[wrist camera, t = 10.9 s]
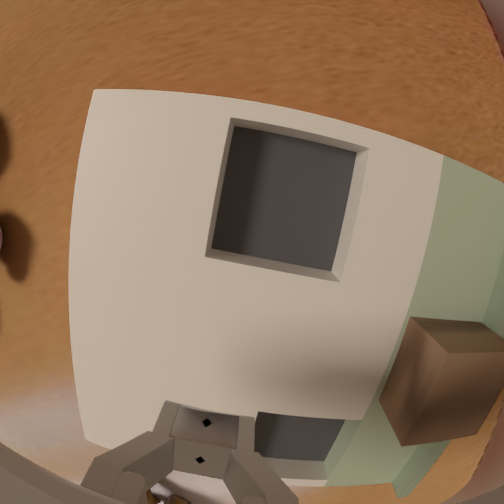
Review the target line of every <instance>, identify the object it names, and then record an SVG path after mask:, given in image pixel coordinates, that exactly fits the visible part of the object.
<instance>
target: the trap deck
mask: <svg viewBox="0 0 504 504" xmlns="http://www.w3.org/2000/svg"><path fill="white" fill-rule="evenodd" d="M409 317H421V318H433V319H446V320H459V321H474V322H480V323H482V324H483V325H485V326H486V327H487V328H489V329H490V330H492V331H493V332H494V333H496V334H497V335H499V336H500V337H501V338H503V339H504V183H502V182H501V181H499V180H497V179H495V178H493V177H491V176H489V175H487V174H484V173H482V172H480V171H478V170H476V169H474V168H472V167H469V166H467V165H465V164H463V163H461V162H458V161H456V160H454V159H451V158H449V157H446V156H444V155H442V154H439V153H437V152H434V151H432V150H429V149H427V148H424V147H421V146H419V145H416V144H413V143H410V142H408V141H405V140H402V139H399V138H396V137H393V136H390V135H387V134H384V133H381V132H378V131H375V130H372V129H368V128H365V127H362V126H358V125H355V124H351V123H348V122H344V121H341V120H337V119H333V118H329V117H325V116H321V115H317V114H313V113H309V112H304V111H300V110H295V109H291V108H286V107H281V106H276V105H270V104H265V103H259V102H254V101H247V100H241V99H234V98H227V97H220V96H212V95H203V94H194V93H183V92H171V91H155V90H131V89H94V92H93V96H92V99H91V103H90V107H89V112H88V116H87V120H86V125H85V130H84V134H83V139H82V145H81V150H80V156H79V162H78V168H77V175H76V182H75V190H74V198H73V207H72V218H71V231H70V248H69V320H70V337H71V350H72V360H73V369H74V377H75V385H76V392H77V398H78V404H79V410H80V416H81V421H82V426H83V431H84V436H85V440H88V441H90V442H93V443H95V444H98V445H100V446H103V447H106V448H108V449H111V450H112V449H114V448H116V447H118V446H120V445H122V444H124V443H126V442H128V441H130V440H132V439H133V438H135V437H137V436H139V435H141V434H143V433H145V432H147V431H151V432H152V431H153V429H154V426H155V423H156V421H157V418H158V416H159V413H160V411H161V408H162V406H163V403H164V402H165V401H166V400H168V401H172V402H175V403H179V404H185V405H189V406H193V407H197V408H202V409H206V410H212V411H217V412H223V413H229V414H235V415H243V416H251V417H254V418H255V439H254V452H259V453H260V455H261V456H262V457H263V458H264V459H265V461H266V462H267V463H268V464H269V465H270V467H271V468H272V469H273V470H274V471H275V473H276V474H277V475H278V476H279V477H280V478H281V480H282V481H283V482H284V483H285V484H286V485H290V486H355V485H370V484H381V483H390V482H392V484H393V487H394V489H395V492H396V495H397V497H398V498H401V497H407V496H408V495H409V494H410V493H411V492H412V490H413V489H414V488H415V487H416V486H417V485H418V483H419V482H420V481H421V480H422V478H423V477H424V476H425V475H426V474H427V472H428V471H429V470H430V468H431V467H432V466H433V464H434V463H435V462H436V461H437V459H438V458H439V456H440V455H441V454H442V452H443V451H444V450H445V448H446V447H447V445H448V444H449V442H450V441H451V439H450V440H445V441H439V442H433V443H426V444H419V445H412V446H403V447H401V445H400V443H399V441H398V439H397V437H396V434H395V432H394V430H393V428H392V426H391V424H390V422H389V420H388V418H387V416H386V414H385V412H384V410H383V408H382V406H381V404H380V402H379V398H380V396H381V393H382V391H383V389H384V386H385V384H386V381H387V379H388V376H389V374H390V371H391V369H392V366H393V364H394V361H395V358H396V356H397V353H398V350H399V347H400V345H401V342H402V339H403V336H404V333H405V330H406V327H407V324H408V321H409Z"/></svg>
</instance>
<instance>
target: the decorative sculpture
mask: <svg viewBox="0 0 504 504" xmlns="http://www.w3.org/2000/svg"><path fill="white" fill-rule="evenodd" d="M1 246H2V231H1V227H0V251H1Z"/></svg>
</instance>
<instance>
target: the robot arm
mask: <svg viewBox="0 0 504 504" xmlns="http://www.w3.org/2000/svg"><path fill="white" fill-rule="evenodd" d="M254 439H255V418H254V417H251V416H243V415H235V414H229V413H223V412H217V411H212V410H206V409H202V408H197V407H193V406H189V405H185V404H179V403H175V402H172V401H168V400H166V401H165V402H164V403H163V406H162V408H161V411H160V413H159V416H158V418H157V421H156V423H155V426H154V429H153V431H152V432H151V431H147V432H145V433H143V434H141V435H139V436H137V437H135V438H133V439H132V440H130V441H128V442H126V443H124V444H122V445H120V446H118V447H116V448H114V449H112V450H110V451H108V452H106V453H104V454H102V455H100V456H98V457H95V458H94V460H93V462H92V464H91V466H90V468H89V469H88V471H87V473H86V475H85V477H84V479H83V481H82V483H81V485H78V484H76V483H74V482H72V481H69V480H67V479H65V478H63V477H61V476H59V475H57V474H55V473H53V472H51V471H49V470H47V469H45V468H43V467H41V466H39V465H37V464H35V463H34V462H32V461H30V460H28V459H26V458H25V457H23V456H21V455H20V454H18V453H16V452H15V451H13V450H11V449H10V448H8V447H7V446H5V445H4V444H2V443H0V504H148V503H147V494H146V491H147V490H149V489H150V488H151V487H153V486H154V485H155V484H157V483H158V482H159V481H161V480H162V479H163V478H164V477H166V476H167V475H168V474H169V473H171V472H172V471H173V470H176V471H181V472H187V473H192V474H198V475H202V476H207V477H212V478H218V479H223V481H224V483H225V484H226V486H227V488H228V490H229V491H230V493H231V495H232V497H233V498H234V500H235V502H236V503H237V504H299V500H298V497H297V496H296V495H295V494H294V493H293V492H292V491H291V490H290V489H289V487H288V486H287V485H286V484H285V483H284V482H283V481H282V480H281V478H280V477H279V476H278V475H277V474H276V473H275V471H274V470H273V469H272V468H271V467H270V465H269V464H268V463H267V462H266V461H265V459H264V458H263V457H262V456H261V455H260V453H259V452H254ZM458 504H504V486H502V487H499V488H497V489H495V490H492V491H490V492H487V493H485V494H482V495H480V496H477V497H475V498H472V499H469V500H467V501H464V502H461V503H458Z"/></svg>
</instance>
